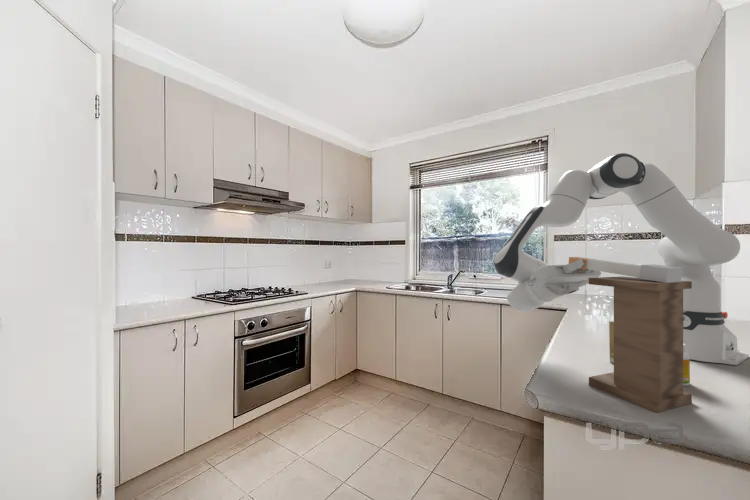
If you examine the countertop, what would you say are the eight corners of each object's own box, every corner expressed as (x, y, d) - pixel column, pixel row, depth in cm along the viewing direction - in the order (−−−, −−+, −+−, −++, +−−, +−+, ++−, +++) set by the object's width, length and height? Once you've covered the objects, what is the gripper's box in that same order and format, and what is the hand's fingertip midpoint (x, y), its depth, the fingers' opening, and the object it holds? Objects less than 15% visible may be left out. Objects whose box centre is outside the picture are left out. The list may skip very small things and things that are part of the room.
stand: (621, 378, 82) (621, 276, 82) (691, 402, 69) (691, 281, 69) (588, 385, 78) (588, 277, 78) (656, 412, 65) (656, 283, 65)
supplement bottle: (695, 387, 77) (695, 346, 77) (669, 385, 78) (669, 345, 78) (679, 378, 82) (679, 340, 82) (655, 376, 83) (655, 339, 83)
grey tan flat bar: (578, 265, 89) (579, 255, 89) (681, 281, 68) (682, 267, 67) (565, 266, 87) (566, 255, 87) (666, 282, 66) (668, 268, 66)
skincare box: (623, 359, 96) (623, 318, 96) (639, 364, 92) (639, 321, 92) (608, 362, 94) (608, 320, 94) (623, 367, 90) (623, 323, 90)
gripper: (518, 275, 93) (554, 251, 82) (569, 272, 100) (609, 250, 89) (527, 295, 90) (565, 273, 79) (579, 291, 97) (621, 271, 86)
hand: (589, 261), depth 84 cm, fingers closed on grey tan flat bar, 3 cm apart
